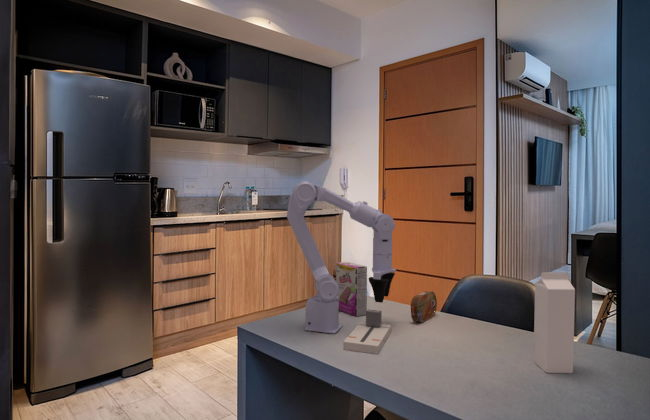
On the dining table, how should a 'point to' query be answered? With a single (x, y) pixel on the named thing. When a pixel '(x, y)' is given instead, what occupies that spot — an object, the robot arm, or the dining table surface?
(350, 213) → the robot arm
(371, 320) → the block
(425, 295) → the tin
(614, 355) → the dining table surface
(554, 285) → the milk
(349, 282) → the candy bar box
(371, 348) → the console
